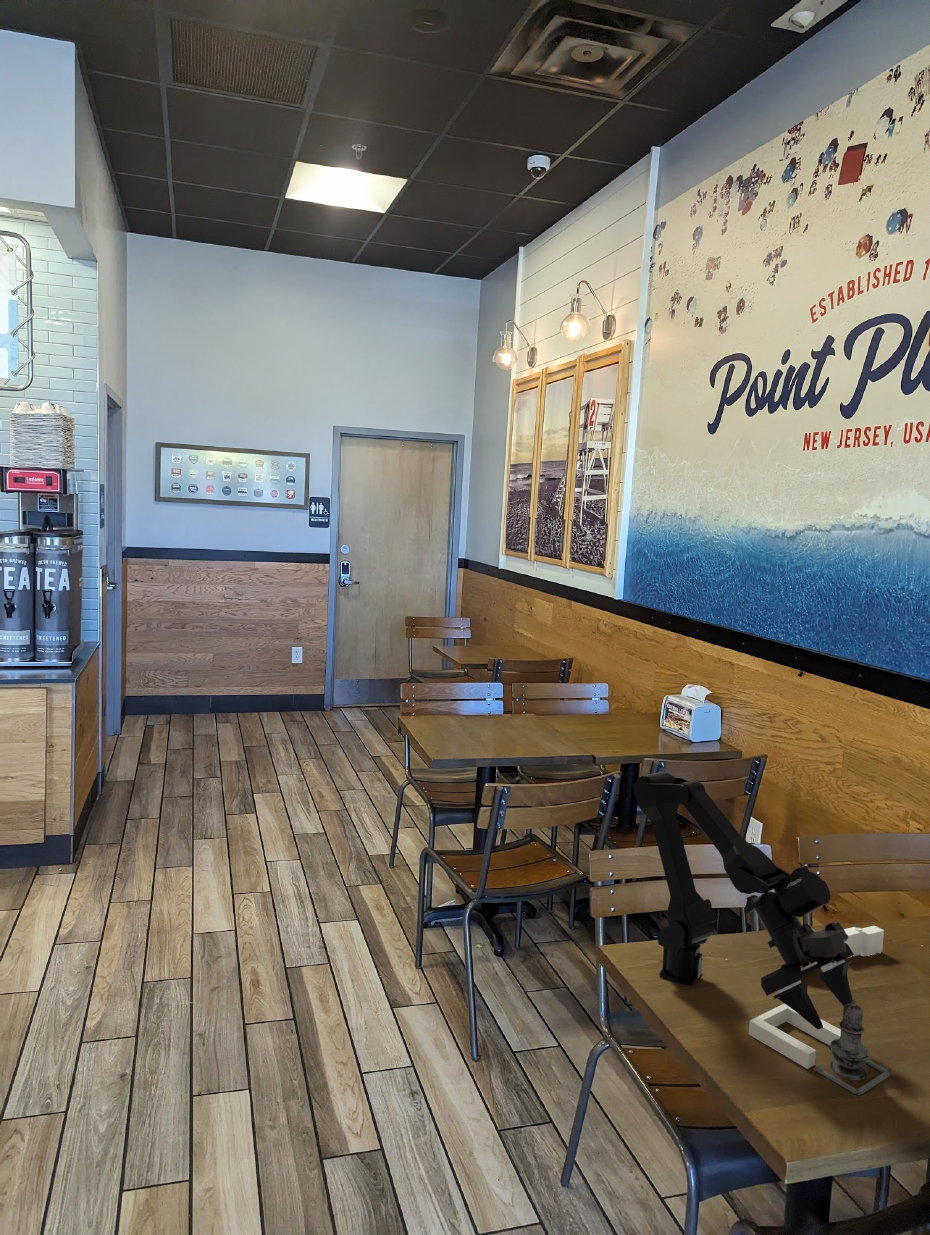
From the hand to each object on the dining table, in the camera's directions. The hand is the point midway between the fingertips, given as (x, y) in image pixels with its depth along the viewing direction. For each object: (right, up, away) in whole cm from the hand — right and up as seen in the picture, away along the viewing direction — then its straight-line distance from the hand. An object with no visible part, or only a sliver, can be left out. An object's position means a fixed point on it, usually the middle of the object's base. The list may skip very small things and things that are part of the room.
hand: (836, 1019), depth 141 cm
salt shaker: (+1, -8, -1) cm, 8 cm away
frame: (+2, -8, -2) cm, 8 cm away
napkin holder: (+20, -5, +37) cm, 43 cm away
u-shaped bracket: (-4, -6, +6) cm, 10 cm away
